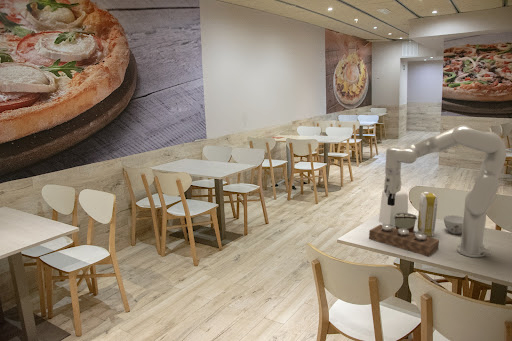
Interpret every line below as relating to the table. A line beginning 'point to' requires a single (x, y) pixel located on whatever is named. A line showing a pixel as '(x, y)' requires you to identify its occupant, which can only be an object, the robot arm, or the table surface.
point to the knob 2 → (403, 232)
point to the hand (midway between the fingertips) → (390, 205)
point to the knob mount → (404, 241)
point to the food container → (405, 221)
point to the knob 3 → (420, 236)
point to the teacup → (454, 223)
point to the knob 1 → (387, 228)
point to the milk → (393, 207)
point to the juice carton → (427, 213)
